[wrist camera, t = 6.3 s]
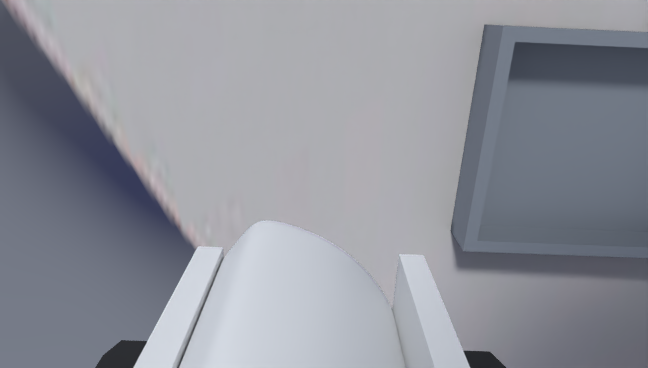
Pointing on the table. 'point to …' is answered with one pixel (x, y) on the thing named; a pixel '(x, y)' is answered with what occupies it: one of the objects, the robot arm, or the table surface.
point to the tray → (556, 144)
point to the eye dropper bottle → (293, 307)
